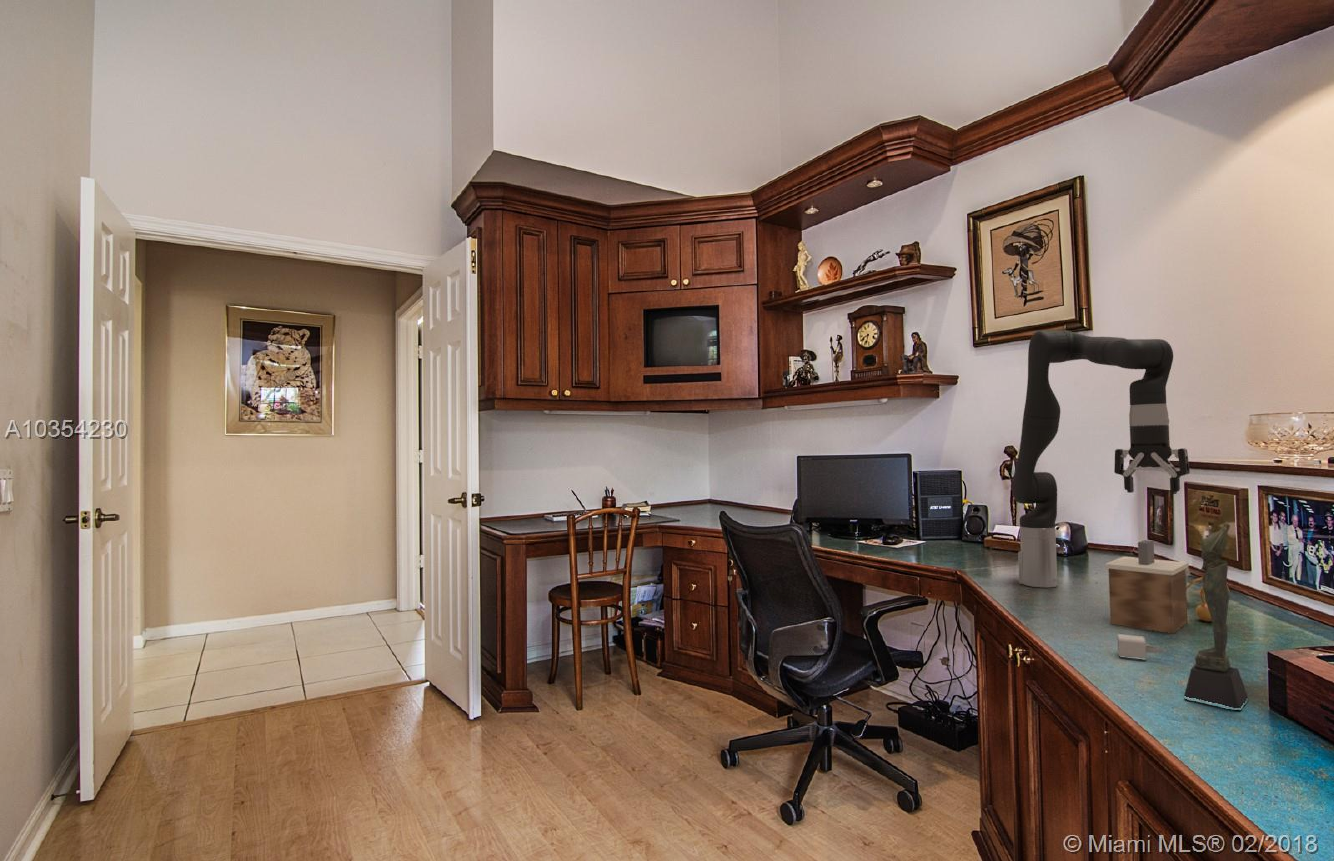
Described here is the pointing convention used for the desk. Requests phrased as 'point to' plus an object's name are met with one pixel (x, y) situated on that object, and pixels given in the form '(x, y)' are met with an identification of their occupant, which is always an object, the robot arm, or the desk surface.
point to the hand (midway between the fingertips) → (1151, 493)
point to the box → (1148, 600)
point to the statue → (1216, 633)
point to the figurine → (1202, 604)
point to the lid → (1147, 562)
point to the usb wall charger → (1134, 646)
